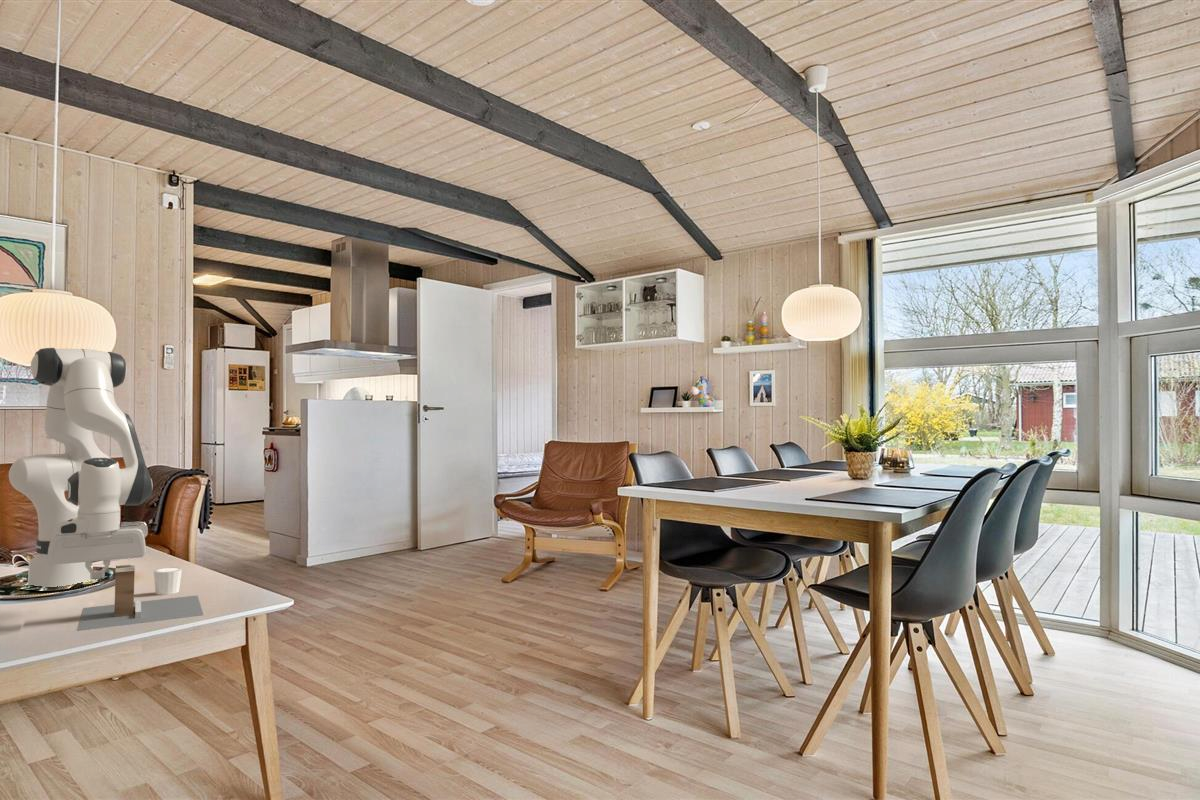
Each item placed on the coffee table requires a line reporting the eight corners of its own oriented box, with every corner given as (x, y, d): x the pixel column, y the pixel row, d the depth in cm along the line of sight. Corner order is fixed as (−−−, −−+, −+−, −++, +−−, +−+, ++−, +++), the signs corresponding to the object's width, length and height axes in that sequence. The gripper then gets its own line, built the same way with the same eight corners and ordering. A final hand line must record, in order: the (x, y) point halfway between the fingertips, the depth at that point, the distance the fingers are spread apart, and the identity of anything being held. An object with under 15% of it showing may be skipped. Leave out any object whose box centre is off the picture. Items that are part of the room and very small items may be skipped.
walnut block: (114, 612, 182) (116, 565, 182) (133, 610, 184) (134, 563, 184) (114, 617, 178) (115, 569, 178) (133, 615, 180) (134, 567, 180)
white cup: (168, 598, 198) (168, 573, 198) (147, 596, 199) (147, 571, 200) (187, 592, 205) (187, 567, 205) (166, 590, 206) (167, 566, 206)
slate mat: (83, 610, 185) (83, 602, 185) (197, 597, 199) (197, 589, 199) (77, 633, 167) (77, 624, 167) (203, 617, 181) (203, 609, 181)
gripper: (148, 518, 186) (146, 571, 186) (49, 524, 175) (48, 580, 175) (148, 522, 181) (146, 576, 181) (46, 528, 170) (45, 586, 170)
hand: (97, 578), depth 178 cm, fingers closed
